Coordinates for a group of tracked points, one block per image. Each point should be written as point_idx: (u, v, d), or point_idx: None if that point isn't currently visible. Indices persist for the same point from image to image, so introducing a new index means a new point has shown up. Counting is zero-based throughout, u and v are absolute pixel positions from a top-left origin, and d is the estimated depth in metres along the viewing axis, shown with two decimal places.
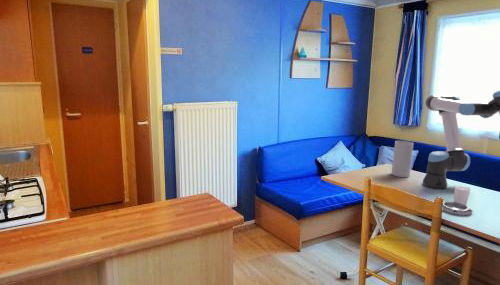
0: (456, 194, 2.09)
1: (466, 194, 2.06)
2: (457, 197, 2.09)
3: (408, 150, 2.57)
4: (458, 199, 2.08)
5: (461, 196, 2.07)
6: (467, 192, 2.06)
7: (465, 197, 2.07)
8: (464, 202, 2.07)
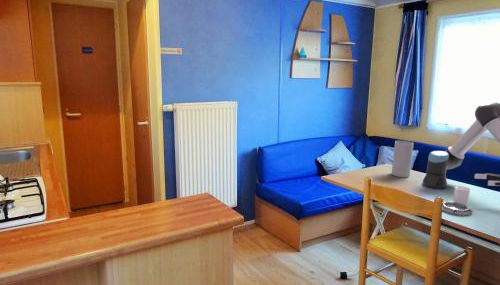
0: (456, 194, 2.09)
1: (466, 194, 2.06)
2: (457, 197, 2.09)
3: (408, 150, 2.57)
4: (458, 199, 2.08)
5: (461, 196, 2.07)
6: (467, 192, 2.06)
7: (465, 197, 2.07)
8: (464, 202, 2.07)
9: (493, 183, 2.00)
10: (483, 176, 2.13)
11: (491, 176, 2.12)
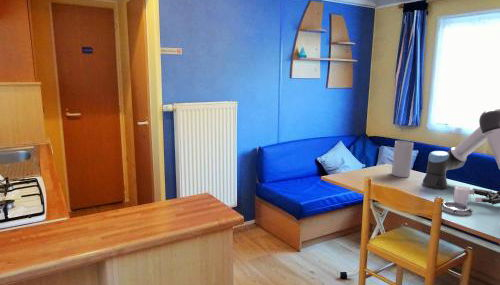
0: (456, 194, 2.09)
1: (466, 194, 2.06)
2: (457, 197, 2.09)
3: (408, 150, 2.57)
4: (458, 199, 2.08)
5: (461, 196, 2.07)
6: (467, 192, 2.06)
7: (465, 197, 2.07)
8: (464, 202, 2.07)
9: (480, 200, 2.02)
10: (471, 191, 2.15)
11: (479, 192, 2.14)
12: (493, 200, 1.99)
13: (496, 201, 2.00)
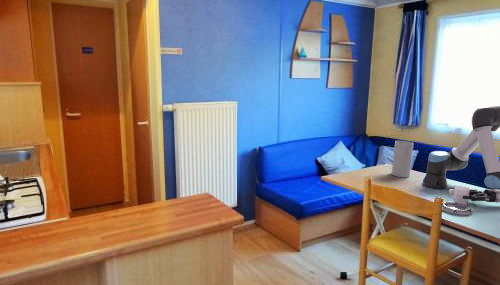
0: None
1: None
2: None
3: (408, 150, 2.57)
4: (458, 199, 2.08)
5: None
6: (467, 192, 2.06)
7: None
8: (464, 202, 2.07)
9: (461, 196, 2.06)
10: None
11: None
12: (473, 197, 2.02)
13: (477, 198, 2.03)
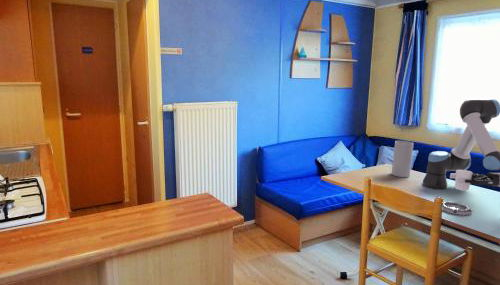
0: None
1: None
2: None
3: (408, 150, 2.57)
4: (460, 183, 1.98)
5: None
6: (469, 175, 1.96)
7: None
8: (467, 186, 1.97)
9: (463, 180, 1.95)
10: None
11: None
12: (476, 180, 1.92)
13: (480, 182, 1.92)
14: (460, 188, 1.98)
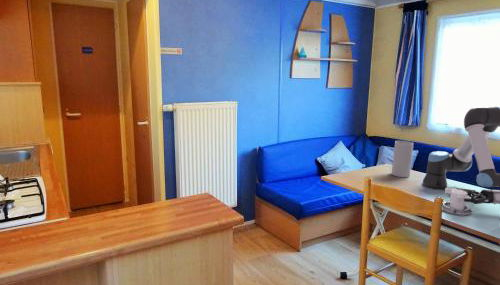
0: (453, 198, 1.97)
1: None
2: (454, 201, 1.97)
3: (408, 150, 2.57)
4: (455, 204, 1.96)
5: None
6: (464, 196, 1.94)
7: None
8: (462, 206, 1.96)
9: (462, 199, 1.93)
10: None
11: None
12: (475, 200, 1.89)
13: (478, 201, 1.90)
14: (455, 208, 1.97)
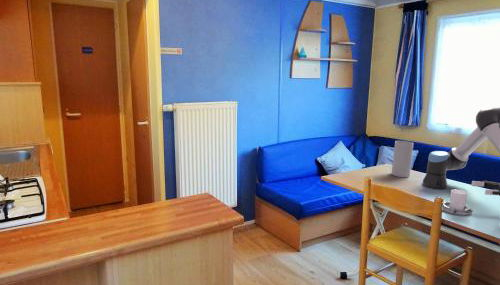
0: (453, 198, 1.97)
1: (463, 198, 1.95)
2: (454, 201, 1.97)
3: (408, 150, 2.57)
4: (455, 204, 1.96)
5: (458, 200, 1.95)
6: (464, 196, 1.94)
7: (462, 201, 1.95)
8: (462, 206, 1.96)
9: (490, 192, 1.92)
10: (481, 183, 2.05)
11: (489, 184, 2.04)
12: None
13: None
14: (455, 208, 1.97)
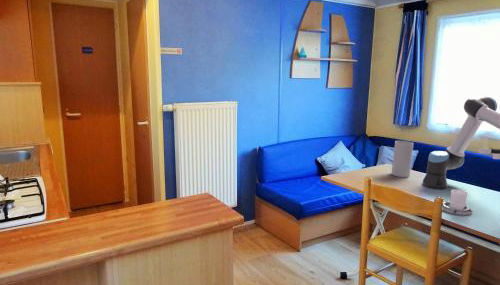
0: (453, 198, 1.97)
1: (463, 198, 1.95)
2: (454, 201, 1.97)
3: (408, 150, 2.57)
4: (455, 204, 1.96)
5: (458, 200, 1.95)
6: (464, 196, 1.94)
7: (462, 201, 1.95)
8: (462, 206, 1.96)
9: (498, 156, 1.94)
10: (488, 150, 2.07)
11: (496, 150, 2.06)
12: None
13: None
14: (455, 208, 1.97)
